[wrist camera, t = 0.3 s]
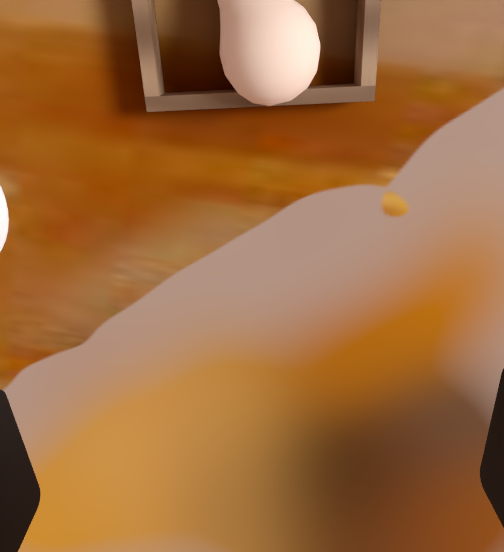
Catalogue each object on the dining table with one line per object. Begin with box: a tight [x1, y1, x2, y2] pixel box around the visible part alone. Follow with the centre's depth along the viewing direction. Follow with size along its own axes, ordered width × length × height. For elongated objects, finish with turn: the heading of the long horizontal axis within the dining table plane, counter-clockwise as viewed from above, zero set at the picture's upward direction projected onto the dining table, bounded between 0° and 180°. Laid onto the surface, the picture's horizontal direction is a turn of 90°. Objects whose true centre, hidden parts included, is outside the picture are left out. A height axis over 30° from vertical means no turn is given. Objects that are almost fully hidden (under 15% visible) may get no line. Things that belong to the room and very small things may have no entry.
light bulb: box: [217, 0, 320, 106], centre depth 30 cm, size 7×7×11 cm
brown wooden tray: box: [131, 0, 381, 112], centre depth 32 cm, size 11×16×2 cm
